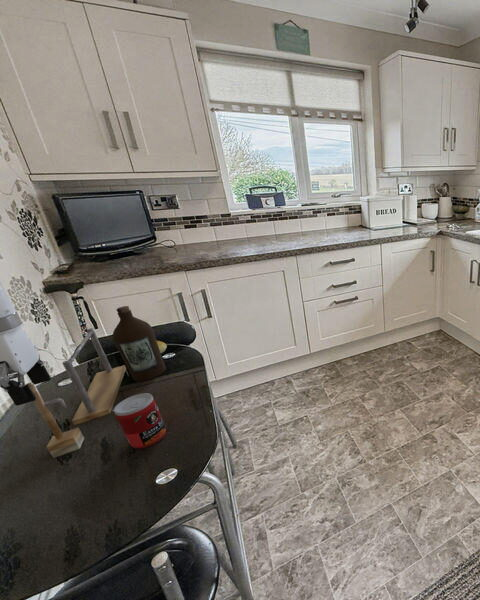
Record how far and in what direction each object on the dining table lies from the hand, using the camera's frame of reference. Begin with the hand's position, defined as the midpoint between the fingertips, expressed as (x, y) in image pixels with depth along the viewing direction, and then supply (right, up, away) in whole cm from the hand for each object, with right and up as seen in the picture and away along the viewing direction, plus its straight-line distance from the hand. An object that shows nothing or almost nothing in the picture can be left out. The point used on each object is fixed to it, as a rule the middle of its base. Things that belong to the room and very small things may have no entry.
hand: (35, 391), depth 76 cm
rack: (-10, -9, +29) cm, 31 cm away
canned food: (+21, -14, +7) cm, 26 cm away
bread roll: (-12, 0, +53) cm, 54 cm away
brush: (+1, -16, +6) cm, 17 cm away
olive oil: (-2, -5, +37) cm, 38 cm away
